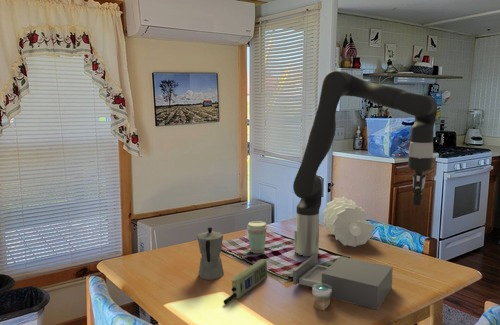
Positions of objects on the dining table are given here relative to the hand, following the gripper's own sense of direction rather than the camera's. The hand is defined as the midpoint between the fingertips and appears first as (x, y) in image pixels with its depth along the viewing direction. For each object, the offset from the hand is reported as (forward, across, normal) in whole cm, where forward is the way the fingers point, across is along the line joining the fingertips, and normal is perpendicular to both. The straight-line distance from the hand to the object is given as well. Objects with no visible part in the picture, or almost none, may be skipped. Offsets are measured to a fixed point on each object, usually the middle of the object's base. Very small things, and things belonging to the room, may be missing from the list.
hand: (417, 202), depth 140 cm
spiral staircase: (+28, -31, -31) cm, 52 cm away
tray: (+27, +17, -27) cm, 41 cm away
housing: (+28, +18, -16) cm, 37 cm away
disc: (+24, +32, -24) cm, 47 cm away
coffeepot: (+29, +27, -67) cm, 78 cm away
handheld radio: (+29, +32, -50) cm, 66 cm away
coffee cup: (+29, -2, -62) cm, 68 cm away
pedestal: (+28, +32, -24) cm, 49 cm away
